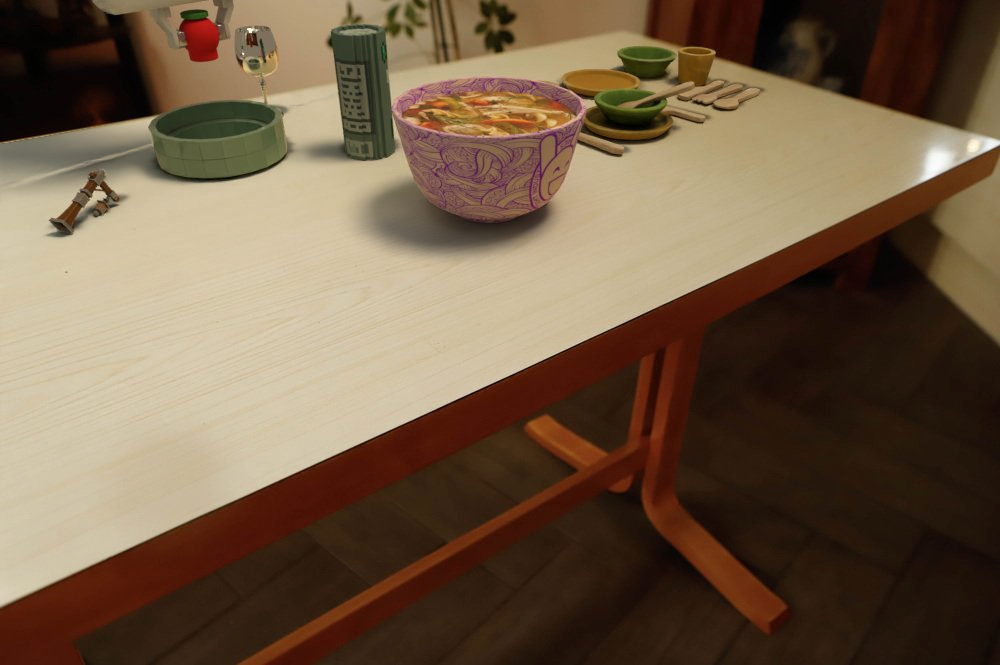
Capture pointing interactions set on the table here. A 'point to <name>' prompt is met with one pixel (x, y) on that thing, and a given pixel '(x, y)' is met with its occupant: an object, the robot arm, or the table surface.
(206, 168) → the bowl
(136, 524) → the table surface
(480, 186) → the bowl of food
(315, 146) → the table surface
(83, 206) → the wooden post with brackets
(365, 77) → the can
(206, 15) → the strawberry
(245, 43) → the wineglass
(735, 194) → the table surface
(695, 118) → the tableware set
